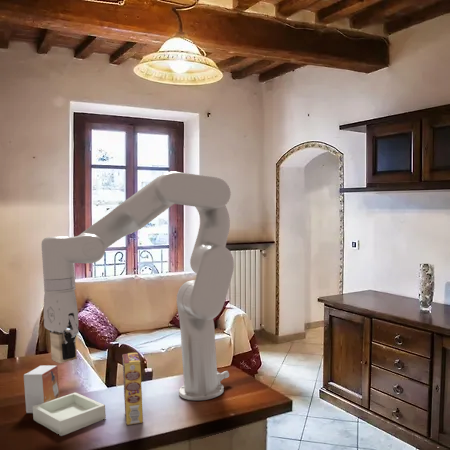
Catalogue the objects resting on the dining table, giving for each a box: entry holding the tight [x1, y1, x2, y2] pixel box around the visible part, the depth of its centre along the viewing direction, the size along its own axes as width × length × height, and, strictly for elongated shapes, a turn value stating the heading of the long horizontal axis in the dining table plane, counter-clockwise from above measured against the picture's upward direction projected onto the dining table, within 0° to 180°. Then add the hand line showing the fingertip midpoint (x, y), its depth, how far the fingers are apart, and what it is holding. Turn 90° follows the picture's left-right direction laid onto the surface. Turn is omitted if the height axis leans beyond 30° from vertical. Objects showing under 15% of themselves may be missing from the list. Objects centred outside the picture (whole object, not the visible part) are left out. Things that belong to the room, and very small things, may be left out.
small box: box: [23, 365, 60, 414], centre depth 133 cm, size 8×6×10 cm
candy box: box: [121, 352, 144, 426], centre depth 123 cm, size 9×4×15 cm, turn 14°
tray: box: [32, 392, 107, 437], centre depth 124 cm, size 12×15×4 cm
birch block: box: [49, 328, 78, 364], centre depth 124 cm, size 4×4×7 cm
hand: (64, 355), depth 124 cm, fingers closed on birch block, 4 cm apart
